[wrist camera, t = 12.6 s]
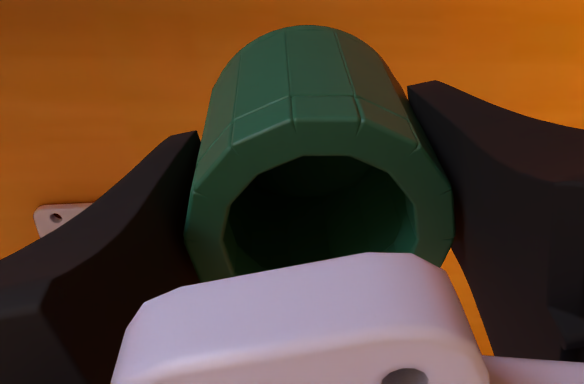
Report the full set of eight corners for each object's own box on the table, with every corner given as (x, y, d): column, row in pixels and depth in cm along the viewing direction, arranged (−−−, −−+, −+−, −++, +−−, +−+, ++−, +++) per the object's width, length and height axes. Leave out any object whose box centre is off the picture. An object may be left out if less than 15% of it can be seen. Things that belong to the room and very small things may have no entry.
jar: (389, 1, 12) (447, 86, 8) (409, 181, 15) (461, 312, 11) (183, 47, 13) (143, 149, 9) (238, 215, 15) (227, 353, 11)
